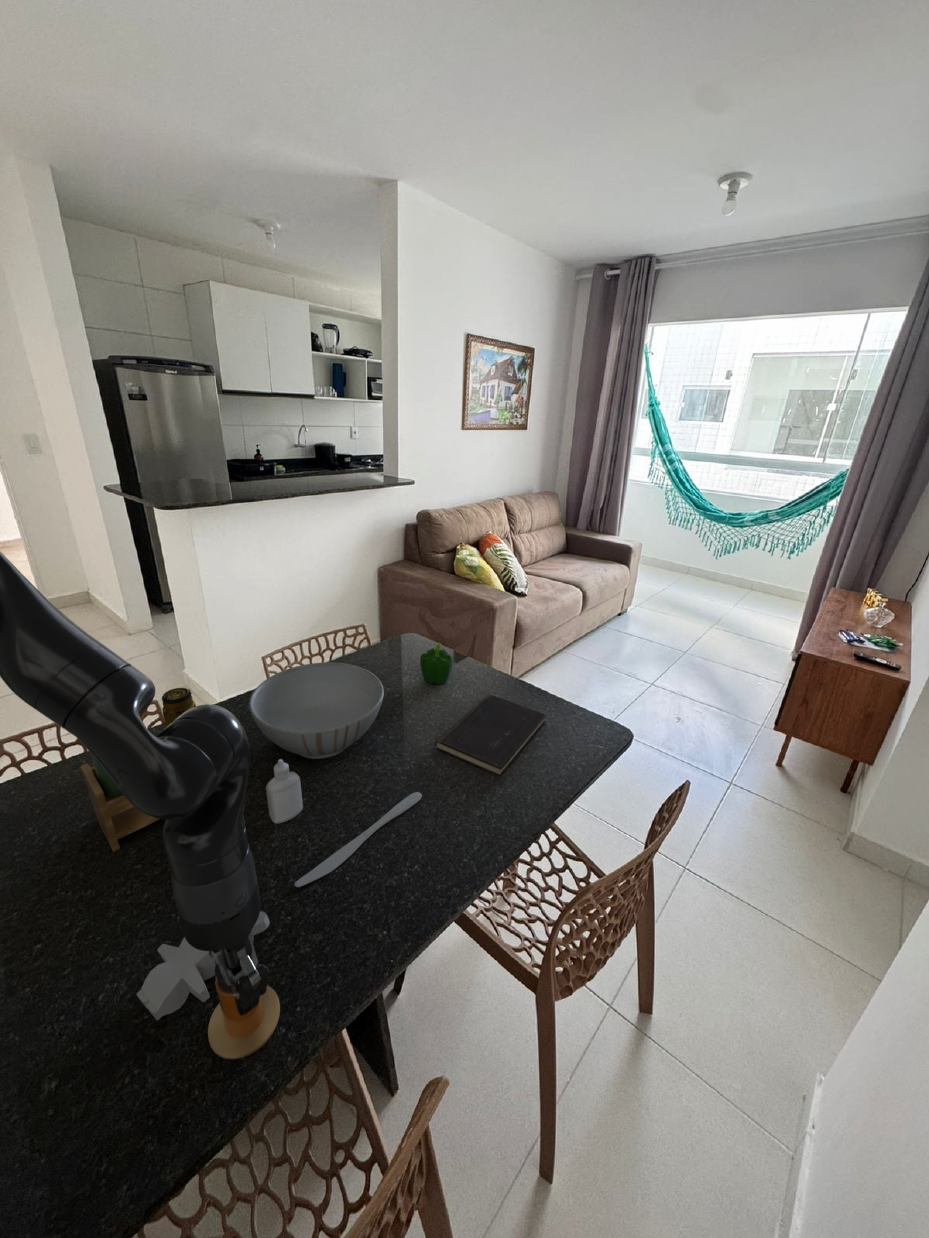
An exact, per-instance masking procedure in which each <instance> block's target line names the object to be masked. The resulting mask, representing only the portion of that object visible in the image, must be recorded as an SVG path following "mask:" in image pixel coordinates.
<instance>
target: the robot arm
mask: <svg viewBox="0 0 929 1238" xmlns="http://www.w3.org/2000/svg"><path fill="white" fill-rule="evenodd" d="M0 678H1V680H2V681H3V682H4V684H5V686H6V687H8V689H9V690H10V691H11V692H12V693H13V694H14V695H15V696H16V697H18V698H19V699H20V700H22V702H24V703H25V704H27V705H28V706H29V707H31V708H33V710H36V712H38V713H40V714H41V715H43V716H44V717H46V718H47V719H48V720H50V721H51V722H53V723H55V724H56V725H57V726H59V727H60V728H62V729H64V730H65V731H66V732H67V733H69V734H71V735H72V736H74V737H75V738H76V739H78V740H79V742H80V743H81V744H82V745H83V746H84V747H85V748H86V750H87V751H88V752H89V754H90V755H91V754H92V756H93V757H94V758H95V759H96V760H97V761H98V763H99V764H100V765H101V766H102V767H103V769H104V770H105V771H106V772H107V774H108V775H109V776H110V778H111V779H112V780H113V782H114V783H115V784H116V786H117V787H118V788H119V790H120V791H121V792H122V794H123V795H124V796H125V797H126V798H127V799H128V801H129V802H130V803H131V804H132V805H133V806H135V807H136V808H137V809H138V810H140V811H141V812H143V813H145V814H147V815H149V816H152V817H155V818H158V819H159V820H165V822H164V825H163V828H162V843H163V848H164V851H165V854H166V858H167V862H168V866H169V870H170V876H171V890H172V895H173V899H174V902H175V906H176V910H177V914H178V918H179V922H180V925H181V929H182V933H183V935H184V936H183V938H184V937H185V939H186V941H187V942H188V943H189V944H190V945H191V946H192V947H194V948H196V949H198V950H202V951H208V953H209V955H210V957H211V958H213V960H215V965H216V963H217V964H218V965H219V968H220V971H221V974H222V977H223V979H224V981H225V982H226V984H227V985H228V986H231V988H232V991H233V993H232V994H233V997H234V998H235V1002H236V1007H237V1011H238V1012H239V1014H240V1015H241V1016H242V1015H244V1014H245V1015H246V1014H247V1013H248V1012H250V1011H251V1010H252V1009H253V1008H255V1007H256V1006H257V1005H258V1002H259V997H260V996H261V995H263V994H265V993H266V989H267V985H268V977H269V976H268V975H269V973H268V968H267V966H266V965H265V964H264V963H261V964H259V959H258V957H257V956H258V955H257V953H256V950H255V949H256V948H255V946H254V942H255V938H254V935H253V934H252V931H251V930H252V928H253V927H254V925H255V923H256V921H257V919H258V917H259V914H260V911H262V910H261V909H262V908H261V907H262V902H261V896H260V895H261V894H260V889H259V884H258V877H257V876H258V875H257V869H256V865H255V860H254V859H255V858H254V856H253V852H252V850H251V848H250V845H249V839H248V832H247V827H246V822H245V818H244V808H245V802H246V798H247V797H246V796H247V789H248V779H249V770H250V745H249V740H248V735H247V733H246V730H245V728H244V726H243V724H242V723H241V722H240V720H239V719H238V718H237V717H236V715H235V714H234V713H232V712H231V711H229V710H228V709H226V708H225V707H223V706H220V705H216V704H210V703H209V704H200V705H196V707H193V708H191V709H189V710H187V711H186V712H184V713H183V714H181V715H180V716H179V717H178V718H176V719H175V720H174V721H173V722H172V723H171V724H170V725H168V726H167V727H166V726H165V728H164V729H163V730H162V731H160V732H159V733H158V734H157V735H154V734H153V733H152V732H150V730H149V729H148V727H147V725H145V723H144V721H143V719H142V716H143V715H144V714H145V713H146V711H147V710H148V708H149V707H150V706H151V705H152V702H154V698H155V696H156V686H155V684H154V682H153V681H152V680H151V679H150V678H149V677H148V676H147V675H146V674H145V673H144V672H143V671H141V670H140V669H138V668H137V667H135V666H134V665H132V664H131V662H128V661H127V660H126V659H124V658H123V657H121V655H119V654H118V653H116V652H115V651H113V650H112V649H110V647H108V646H106V645H105V644H103V642H101V641H99V640H97V638H95V637H93V636H92V635H91V634H90V633H88V632H87V631H86V630H84V629H83V628H82V627H80V626H79V625H77V624H76V623H75V622H74V621H73V620H71V619H70V618H69V617H68V616H67V615H66V614H64V613H63V612H62V611H61V610H60V609H58V607H56V606H55V605H54V604H53V603H52V602H51V601H50V600H49V599H48V598H47V597H46V596H45V595H44V594H43V593H42V592H41V591H40V590H39V589H38V588H37V587H36V586H35V585H34V584H33V583H32V582H31V581H30V580H29V579H28V578H27V577H26V576H25V575H24V574H23V573H22V572H21V571H20V570H19V569H18V568H17V566H15V565H14V564H13V563H12V561H10V559H8V558H7V556H5V555H4V553H3V552H2V551H0ZM228 968H230V969H231V970H228ZM241 977H242V978H241Z"/></svg>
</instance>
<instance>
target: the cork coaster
mask: <svg viewBox="0 0 929 1238" xmlns="http://www.w3.org/2000/svg"><path fill="white" fill-rule="evenodd" d="M262 997H263V1003H264V1017H263V1019H262V1021H261V1023H260V1025H259V1026H258V1027H257V1028H256V1030H254V1031H253V1032H252V1033H251V1034H249V1035H247V1036H244V1037H239V1038H237V1037H233V1036H231V1035H229V1034H228V1032H227V1031H226V1028H225V1024H224V1019H223V1015H222V1011H221V1007H220V1002H219V1003H218V1004H217V1006H216V1007H215V1008H214V1011H213V1012H212V1014H211V1016H210V1018H209V1022H208V1026H207V1038H208V1044H209V1045H210V1048H211V1049H212V1051H213V1052H214V1053H215V1054H216V1055H217V1056H218V1057H219V1058H222V1059H226V1060H240V1059H242V1058H246V1057H248V1056H251V1055H252V1054H254V1053H255V1052H257V1051H258V1050H259V1049H261V1048H262V1047H263V1046H264V1045H265V1044H266V1043H267V1042H268V1040H269V1039H270V1038H271V1037H272V1035H273V1033H274V1032H275V1030H276V1029H277V1026H278V1023H279V1019H280V1016H281V1015H280V1014H281V1004H280V998H279V996H278V994H277V992H276V991H275V990H274V989H273V988H272V987H271V986H269V985H268V984H267V989H266V993H265V994H263V995H262Z"/></svg>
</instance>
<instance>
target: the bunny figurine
mask: <svg viewBox="0 0 929 1238" xmlns="http://www.w3.org/2000/svg"><path fill="white" fill-rule="evenodd" d="M269 926H270V918H269V916H268V915H267V913H266V912H264V911H262V910H260V914H259V917H258V919H257V921H256V923H255V925H254V927H253V928H252V930H251V931H252V934H253V936H255V935H258V934H260V933H263V932H264V931H266V930H267V929H268V928H269ZM157 953H158V954H159V957H161V959H162V960H163V962H162V963H159V964H157V965H156V966H155V967H154V968H152V969H151V970H150V971H149V973H148V974H147V976H146V978H145V979H144V982H143V983H142V985H141V989H140V990H139V991H137V992H136V996H137V998H138V999H139V1001H140V1002H141V1003H142V1004H143V1006H144V1007H145V1008H146V1009H147V1010H148V1011H149V1013H150V1014H151V1015H152V1016H153V1017H154V1019H155V1020H156V1021H159V1020H160V1019H161V1018H162V1017H165V1016H167V1015H170V1014H172V1013H175V1012H176V1011H177V1010H180V1009H181V1008H182V1006H183V1005H184V1004H185V1003H186V1001H187V1000H188V997H189V995H190V993H191V994H192V995H193V996H194V997H196V998H197V999H198V1000H200V1001H201V1002H202V1003H205V1002H206V1001H207V1000H209V999H210V998H211V996H210V993H209V991H208V988H207V986H206V983H205V981H207V980H209V979H211V978H213V977H215V966H216V965H215V960H213V958H211V957H210V955H209V953H208V951H202V950H198V949H196V948H194V947H192V946H191V945H190V944H189V943H188V942H187V941H186V939H185V937H184V936H183V939H182V941H181V942H180V944H179V945H178V947H177V946H174V945H169V944H167V943H166V944H165V943H161V945H160V946H159V947H158V948H157Z"/></svg>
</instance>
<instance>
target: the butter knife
mask: <svg viewBox="0 0 929 1238" xmlns="http://www.w3.org/2000/svg"><path fill="white" fill-rule="evenodd" d="M422 797H423V794H422V793H421V792H420V791H415V792H412V793H411V794H408V796H406V797H405V798H403V799H402V800H401V801H399V802H398V803H397V804H396V805H394V806H393V807H392V808H391V809H390V810H388V811H387V813H386V814H384V815H383V816H382V817H381V818H379V819H378V820H377V821H376V822H374V823H373V824H372V825H371V826H370V827H368V828H367V829H365V830H364V831H363V832H362V833H360V834H359V835H358V836H356V837H355V838H353V839H352V840H351V841H349V842H347V844H345V845H344V846H342V847H341V848H340V849H338V850H336V851H335V852H334V853H333V854H331V855H330V856H328V857H327V858H325V860H323V861H322V862H320V863H319V864H318V865H316V866H315V867H314V868H313V869H311V870H310V871H309V872H307V873H306V874H304V875H303V876H301V877H300V878H299V879H298V880H296V881H295V882H294V886H295V887H296V888H301V887H304V886H305V885H307V884H310V883H312V882H314V881H316V880H318V879H320V878H322V877H324V876H326V875H328V874H330V873H332V872H333V871H334V870H335V869H337V868H338V867H339V866H340V865H342V864H343V863H344V862H345V861H347V859H349V857H350V856H352V855H353V854H354V853H355V852H356V851H357V850H358V848H360V846H362V845H363V843H364V842H366V840H367V839H369V838H370V837H371V836H373V834H374V833H375V832H376V831H378V830H379V829H381V828H382V827H383V826H384V825H385V824H387V823H388V822H390V821H392V820H393V819H395V818H396V817H399V816H400V815H401V814H403V813H404V812H406V811H408V810H409V809H410V808H411V807H413V806H415V805H416V804H417V803H418V802H419V801H420V800H421V799H422Z"/></svg>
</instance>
